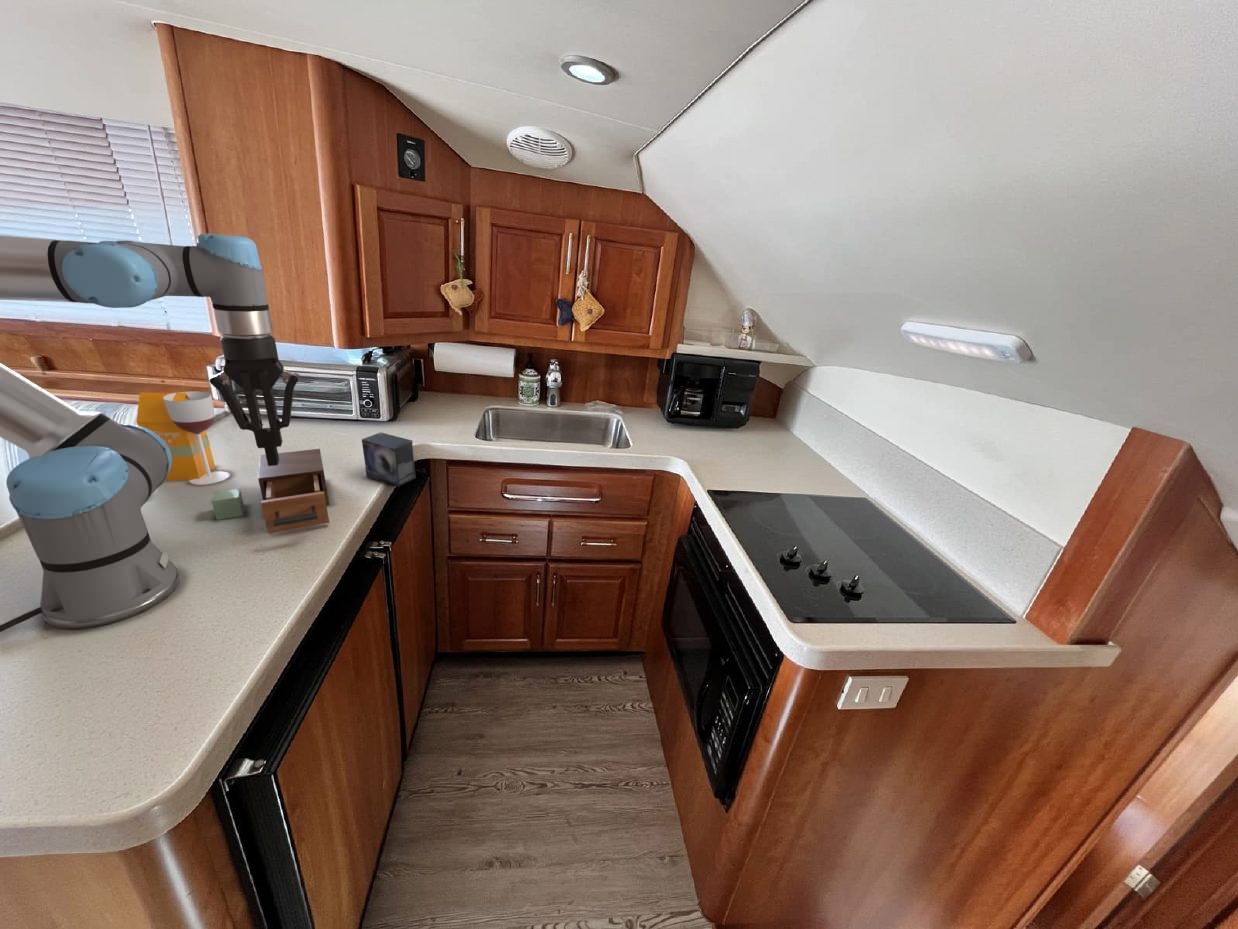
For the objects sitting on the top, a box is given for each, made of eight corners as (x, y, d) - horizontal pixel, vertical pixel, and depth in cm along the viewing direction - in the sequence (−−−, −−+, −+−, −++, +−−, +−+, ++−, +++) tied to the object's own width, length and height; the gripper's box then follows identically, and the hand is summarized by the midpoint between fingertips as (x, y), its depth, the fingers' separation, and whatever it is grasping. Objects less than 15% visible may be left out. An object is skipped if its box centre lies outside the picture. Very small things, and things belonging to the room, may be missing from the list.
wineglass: (207, 487, 112) (183, 403, 104) (177, 480, 114) (152, 397, 106) (240, 474, 119) (220, 394, 111) (212, 468, 121) (191, 389, 113)
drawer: (331, 534, 97) (325, 503, 94) (267, 546, 92) (260, 514, 89) (325, 497, 110) (320, 470, 108) (269, 506, 105) (262, 477, 102)
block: (216, 520, 100) (211, 501, 98) (218, 510, 103) (213, 492, 102) (243, 515, 102) (238, 497, 100) (244, 506, 106) (240, 488, 104)
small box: (364, 477, 123) (359, 438, 119) (384, 469, 128) (380, 431, 124) (397, 487, 119) (393, 447, 115) (417, 478, 125) (413, 439, 121)
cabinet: (329, 505, 109) (323, 470, 106) (266, 515, 103) (257, 478, 100) (325, 481, 119) (319, 448, 116) (267, 489, 113) (260, 455, 110)
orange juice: (173, 467, 120) (149, 387, 112) (216, 466, 122) (195, 388, 114) (154, 481, 113) (127, 397, 105) (200, 480, 115) (176, 397, 107)
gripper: (294, 331, 89) (315, 452, 98) (203, 330, 83) (234, 459, 92) (290, 339, 83) (313, 466, 92) (192, 338, 77) (226, 474, 86)
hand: (273, 462), depth 92 cm, fingers closed
